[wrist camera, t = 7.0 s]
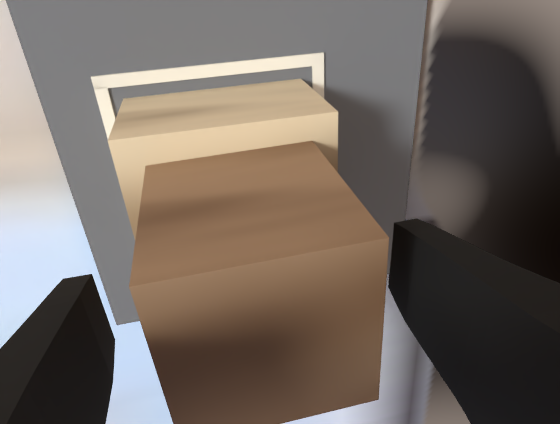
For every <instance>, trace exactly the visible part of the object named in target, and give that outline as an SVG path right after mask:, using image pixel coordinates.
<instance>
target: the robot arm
mask: <svg viewBox="0 0 560 424" xmlns="http://www.w3.org/2000/svg"><path fill="white" fill-rule="evenodd" d="M388 287H389V289H390V291H391V293H392V296H393V298H394V300H395V302H396V304H397V306H398V308H399V310H400V312H401V314H402V316H403V318H404V320H405V322H406V323H407V325H408V327H409V328H410V330H411V331H412V333H413V334H414V336H415V337H416V339H417V340H418V342H419V344H420V345H421V347H422V348H423V350H424V351H425V353H426V354H427V356H428V357H429V359H430V360H431V362H432V363H433V365H434V366H435V368H436V369H437V371H438V372H439V373H440V375H441V377H442V378H443V380H444V381H445V382H446V384H447V385H448V387H449V389H450V390H451V391H452V393H453V394H454V396H455V397H456V399H457V401H458V403H459V404H460V406H461V407H462V409H463V411H464V412H465V414H466V416H467V418H468V420H469V421H470V423H471V424H560V283H558V282H555V281H553V280H550V279H548V278H545V277H543V276H540V275H538V274H536V273H533V272H531V271H529V270H526V269H524V268H521V267H519V266H517V265H514V264H512V263H510V262H508V261H506V260H504V259H501V258H499V257H497V256H495V255H493V254H490V253H489V252H487V251H484V250H482V249H480V248H478V247H476V246H474V245H472V244H470V243H468V242H466V241H464V240H462V239H460V238H458V237H456V236H454V235H452V234H450V233H448V232H446V231H444V230H441V229H439V228H437V227H435V226H433V225H431V224H429V223H426V222H424V221H422V220H419V219H412V220H406V221H400V222H394V228H393V240H392V251H391V262H390V274H389V285H388ZM114 351H115V338H114V336H113V333H112V330H111V327H110V324H109V321H108V319H107V316H106V313H105V310H104V307H103V304H102V302H101V299H100V296H99V293H98V290H97V287H96V285H95V282H94V279H93V276H92V274H89V275H83V276H77V277H71V278H65V279H63V280H62V281H61V282H60V283H59V284H58V285H57V286H56V287H55V288H54V289H53V290H52V291H51V293H50V294H49V295H48V296H47V297H46V298H45V299H44V301H43V302H42V303H41V304H40V305H39V306H38V307H37V309H36V310H35V311H34V312H33V313H32V314H31V315H30V317H29V318H28V319H27V320H26V321H25V322H24V323H23V324H22V325H21V327H20V328H19V329H18V330H17V331H16V332H15V333H14V334H13V335H12V336H11V338H10V339H9V340H8V341H7V342H6V343H5V344H4V345H3V346H2V348H1V349H0V424H105V423H106V417H107V412H108V406H109V401H110V395H111V389H112V383H113V371H114Z"/></svg>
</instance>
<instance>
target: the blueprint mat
mask: <svg viewBox="0 0 560 424" xmlns="http://www.w3.org/2000/svg"><path fill="white" fill-rule="evenodd" d="M427 1H428V0H6V2H7V5H8V8H9V11H10V14H11V17H12V20H13V23H14V26H15V29H16V32H17V35H18V37H19V40H20V43H21V46H22V49H23V52H24V55H25V58H26V61H27V64H28V67H29V70H30V73H31V76H32V78H33V81H34V84H35V87H36V90H37V93H38V96H39V99H40V102H41V105H42V108H43V111H44V114H45V117H46V119H47V122H48V125H49V128H50V131H51V134H52V137H53V140H54V143H55V146H56V149H57V152H58V155H59V158H60V160H61V163H62V166H63V169H64V172H65V175H66V178H67V181H68V184H69V187H70V190H71V193H72V196H73V199H74V201H75V204H76V207H77V210H78V213H79V216H80V219H81V222H82V225H83V228H84V231H85V234H86V237H87V239H88V242H89V245H90V248H91V251H92V254H93V257H94V260H95V263H96V266H97V269H98V272H99V275H100V278H101V280H102V283H103V286H104V289H105V292H106V295H107V298H108V301H109V304H110V307H111V310H112V313H113V316H114V319H115V321H116V324H117V325H120V324H126V323H131V322H136V321H140V319H139V316H138V313H137V310H136V307H135V304H134V301H133V298H132V295H131V292H130V289H129V283H130V276H131V268H132V261H133V254H134V246H135V238H134V235H133V231H132V228H131V224H130V220H129V217H128V213H127V209H126V206H125V202H124V199H123V195H122V191H121V188H120V184H119V180H118V177H117V173H116V170H115V166H114V162H113V159H112V155H111V151H110V148H109V144H108V138H109V135H110V133H111V130H112V127H113V125H114V122H115V119H116V117H117V114H118V111H119V109H120V106H121V103H122V101H123V99H124V98H133V97H142V96H151V95H160V94H168V93H177V92H186V91H195V90H204V89H213V88H222V87H231V86H239V85H248V84H257V83H266V82H275V81H284V80H293V79H302V80H303V81H304V82H305V83H307V84H308V85H309V86H310V87H311V88H312V89H313V90H314V91H316V92H317V93H318V94H319V95H320V96H321V97H322V98H323V99H325V100H326V101H327V102H328V103H329V104H330V105H331V106H332V107H334V108H335V109H336V110H337V111H338V174H339V175H340V176H341V178H342V179H343V180H344V181H345V183H346V184H347V185H348V186H349V188H350V189H351V190H352V191H353V193H354V194H355V195H356V197H357V198H358V199H359V200H360V202H361V203H362V204H363V205H364V207H365V208H366V209H367V210H368V212H369V213H370V214H371V215H372V217H373V218H374V219H375V221H376V222H377V223H378V224H379V226H380V227H381V228H382V229H383V231H384V232H385V233H386V234H387V236H388V237H389V247H388V262H387V274H390V262H391V251H392V240H393V228H394V222H400V221H405V215H406V205H407V195H408V185H409V176H410V166H411V156H412V147H413V137H414V127H415V117H416V108H417V98H418V88H419V79H420V69H421V59H422V49H423V40H424V30H425V20H426V11H427Z"/></svg>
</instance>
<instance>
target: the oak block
mask: <svg viewBox="0 0 560 424" xmlns="http://www.w3.org/2000/svg"><path fill="white" fill-rule="evenodd" d="M306 141H313V142H314V144H315V145H316V146H317V147H318V149H319V150H320V151H321V152H322V154H323V155H324V156H325V157H326V159H327V160H328V161H329V162H330V164H331V165H332V166H333V168H334V169H335V170H336V171H337V173H338V111H337V110H336V109H335V108H334V107H332V106H331V105H330V104H329V103H328V102H327V101H326V100H325V99H323V98H322V97H321V96H320V95H319V94H318V93H317V92H316V91H314V90H313V89H312V88H311V87H310V86H309V85H308V84H307V83H305V82H304V81H303V80H302V79H293V80H284V81H275V82H266V83H257V84H248V85H239V86H231V87H222V88H213V89H204V90H195V91H186V92H177V93H168V94H160V95H151V96H142V97H133V98H124V99H123V101H122V103H121V106H120V109H119V111H118V114H117V117H116V119H115V122H114V125H113V127H112V130H111V133H110V135H109V138H108V144H109V148H110V151H111V155H112V159H113V162H114V166H115V170H116V173H117V177H118V180H119V184H120V188H121V191H122V195H123V199H124V202H125V206H126V209H127V213H128V217H129V220H130V224H131V228H132V231H133V235H134V238H135V239H136V232H137V225H138V217H139V210H140V203H141V195H142V188H143V181H144V173H145V166H147V165H153V164H160V163H167V162H173V161H180V160H187V159H193V158H200V157H207V156H213V155H220V154H227V153H233V152H240V151H246V150H253V149H260V148H266V147H273V146H280V145H286V144H293V143H300V142H306Z"/></svg>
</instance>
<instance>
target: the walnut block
mask: <svg viewBox="0 0 560 424" xmlns="http://www.w3.org/2000/svg"><path fill="white" fill-rule="evenodd" d="M388 247H389V237H388V236H387V234H386V233H385V232H384V231H383V229H382V228H381V227H380V226H379V224H378V223H377V222H376V221H375V219H374V218H373V217H372V215H371V214H370V213H369V212H368V210H367V209H366V208H365V207H364V205H363V204H362V203H361V202H360V200H359V199H358V198H357V197H356V195H355V194H354V193H353V191H352V190H351V189H350V188H349V186H348V185H347V184H346V183H345V181H344V180H343V179H342V178H341V176H340V175H339V174H338V173H337V171H336V170H335V169H334V168H333V166H332V165H331V164H330V162H329V161H328V160H327V159H326V157H325V156H324V155H323V154H322V152H321V151H320V150H319V149H318V147H317V146H316V145H315V144H314V142H313V141H306V142H300V143H293V144H286V145H280V146H273V147H266V148H260V149H253V150H246V151H240V152H233V153H227V154H220V155H213V156H207V157H200V158H193V159H187V160H180V161H173V162H167V163H160V164H153V165H147V166H145V173H144V181H143V188H142V195H141V203H140V210H139V217H138V225H137V232H136V239H135V246H134V254H133V261H132V268H131V276H130V283H129V289H130V292H131V295H132V298H133V301H134V304H135V307H136V310H137V313H138V316H139V319H140V322H141V325H142V329H143V332H144V335H145V338H146V341H147V344H148V347H149V350H150V353H151V356H152V359H153V362H154V365H155V368H156V372H157V375H158V378H159V381H160V384H161V387H162V390H163V393H164V396H165V399H166V402H167V405H168V408H169V412H170V415H171V418H172V421H173V424H281V423H285V422H289V421H293V420H298V419H302V418H306V417H310V416H314V415H318V414H322V413H326V412H330V411H334V410H338V409H342V408H346V407H350V406H354V405H359V404H363V403H367V402H371V401H375V400H378V399H379V383H380V368H381V353H382V338H383V323H384V308H385V293H386V277H387V262H388Z"/></svg>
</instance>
